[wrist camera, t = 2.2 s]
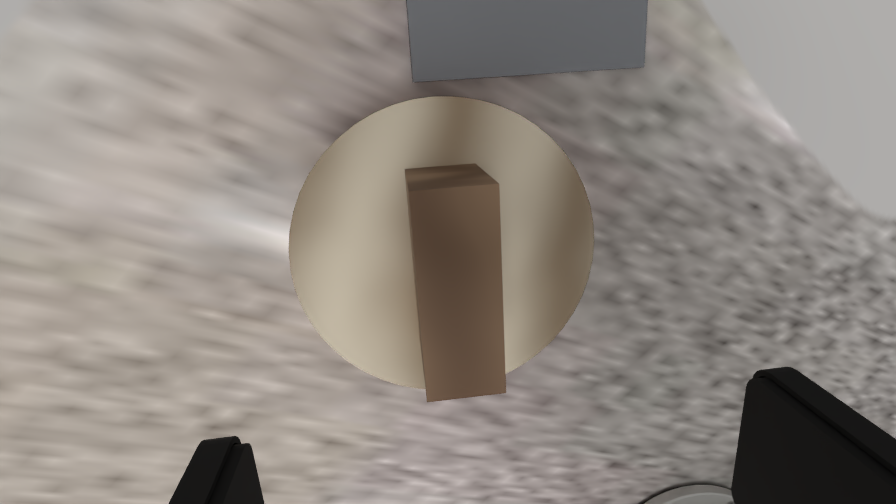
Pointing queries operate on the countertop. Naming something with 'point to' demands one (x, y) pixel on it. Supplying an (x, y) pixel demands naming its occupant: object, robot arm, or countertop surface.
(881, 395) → the countertop surface
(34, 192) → the countertop surface
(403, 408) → the countertop surface
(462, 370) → the lid
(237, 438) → the robot arm
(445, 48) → the mat
